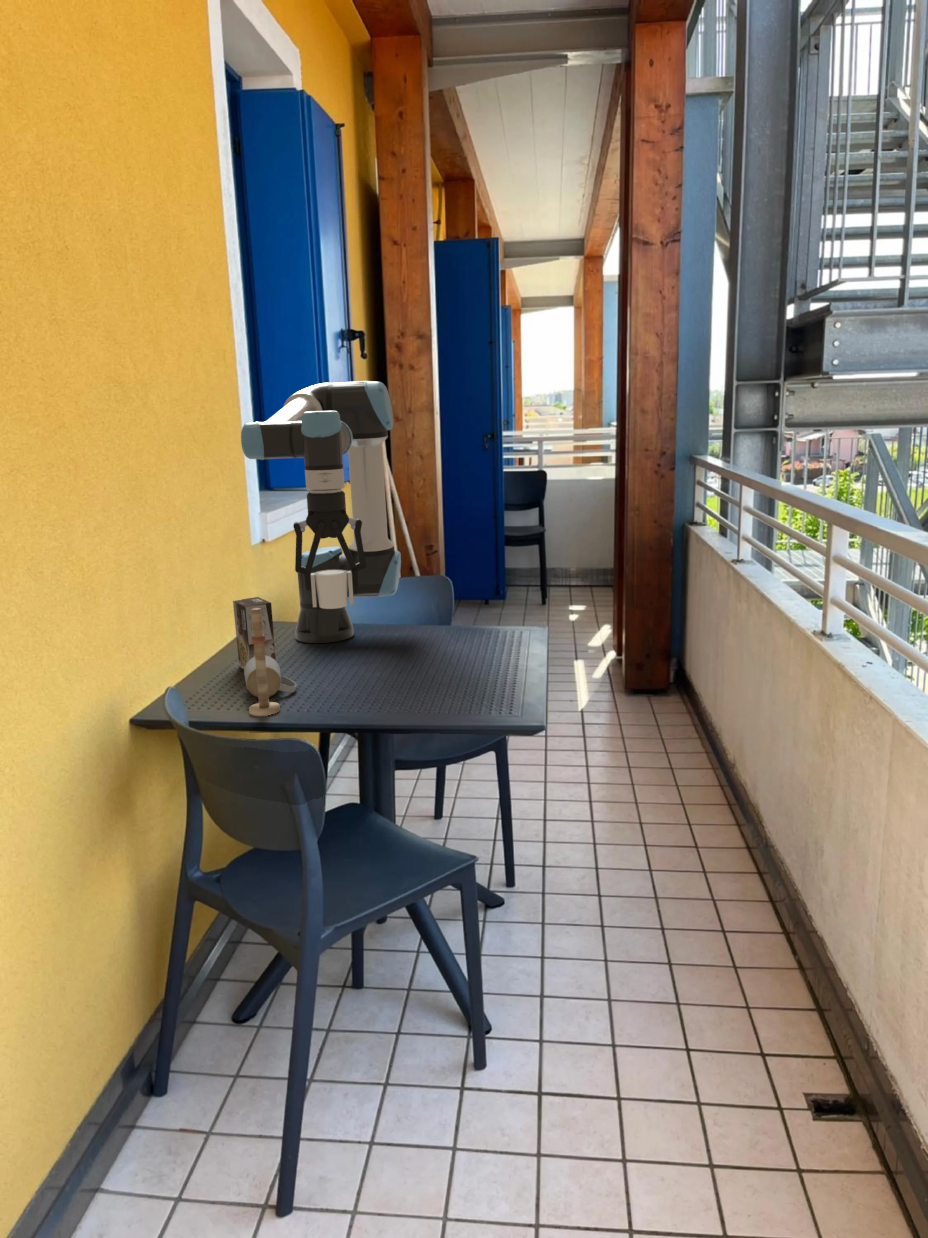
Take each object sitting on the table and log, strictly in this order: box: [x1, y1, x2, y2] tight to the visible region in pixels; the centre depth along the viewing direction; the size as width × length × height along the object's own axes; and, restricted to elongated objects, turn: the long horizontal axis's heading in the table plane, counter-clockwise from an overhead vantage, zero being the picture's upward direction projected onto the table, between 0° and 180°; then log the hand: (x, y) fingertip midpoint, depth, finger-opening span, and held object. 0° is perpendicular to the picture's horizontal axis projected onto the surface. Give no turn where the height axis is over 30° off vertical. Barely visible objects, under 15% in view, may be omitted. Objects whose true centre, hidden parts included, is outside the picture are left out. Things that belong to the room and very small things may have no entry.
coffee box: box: [232, 596, 277, 670], centre depth 211 cm, size 9×6×16 cm
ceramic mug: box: [243, 655, 297, 698], centre depth 194 cm, size 11×8×8 cm
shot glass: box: [314, 569, 348, 609], centre depth 185 cm, size 7×7×7 cm
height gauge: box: [248, 608, 281, 717], centre depth 180 cm, size 6×6×21 cm
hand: (333, 604), depth 185 cm, fingers closed on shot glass, 7 cm apart
